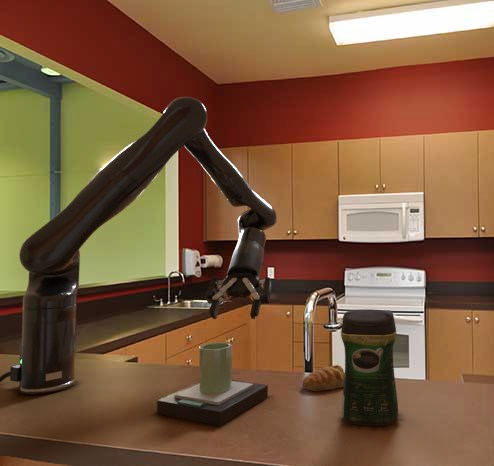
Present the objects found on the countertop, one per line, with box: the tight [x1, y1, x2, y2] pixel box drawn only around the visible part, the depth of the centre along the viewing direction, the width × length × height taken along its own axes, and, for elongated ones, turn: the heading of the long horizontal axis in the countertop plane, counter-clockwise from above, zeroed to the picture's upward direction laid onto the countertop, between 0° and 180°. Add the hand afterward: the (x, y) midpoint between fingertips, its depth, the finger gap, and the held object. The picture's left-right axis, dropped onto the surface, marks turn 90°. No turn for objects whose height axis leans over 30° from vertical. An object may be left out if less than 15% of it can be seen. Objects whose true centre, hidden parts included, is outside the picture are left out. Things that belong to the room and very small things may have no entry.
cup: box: [198, 341, 233, 394], centre depth 76 cm, size 6×6×8 cm
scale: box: [156, 379, 269, 427], centre depth 75 cm, size 14×14×3 cm
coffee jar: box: [340, 308, 399, 426], centre depth 70 cm, size 10×8×19 cm
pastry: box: [301, 364, 345, 392], centre depth 85 cm, size 9×7×4 cm
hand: (233, 316), depth 88 cm, fingers open, 8 cm apart
